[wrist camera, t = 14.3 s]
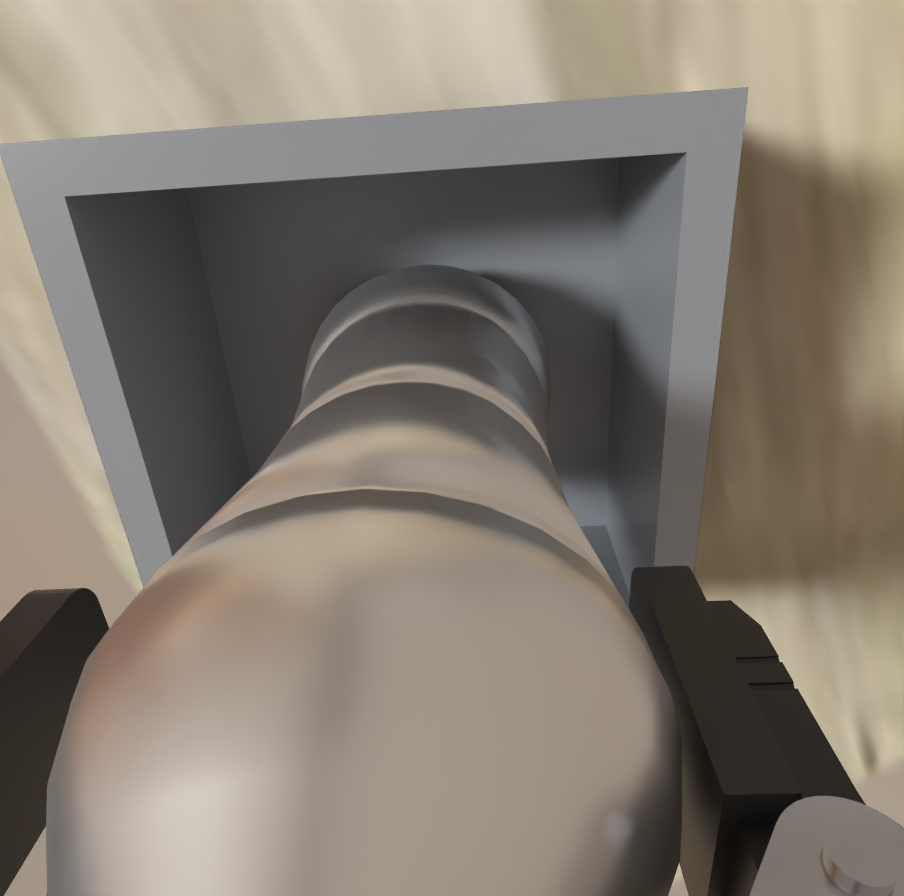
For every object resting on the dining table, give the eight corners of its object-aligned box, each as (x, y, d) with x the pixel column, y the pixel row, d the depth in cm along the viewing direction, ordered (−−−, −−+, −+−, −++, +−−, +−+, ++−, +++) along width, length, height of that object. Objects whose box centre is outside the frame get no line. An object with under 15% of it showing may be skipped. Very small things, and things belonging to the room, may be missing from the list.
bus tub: (154, 139, 19) (-4, 144, 13) (651, 102, 18) (747, 87, 12) (251, 548, 25) (177, 690, 19) (627, 532, 24) (682, 674, 18)
